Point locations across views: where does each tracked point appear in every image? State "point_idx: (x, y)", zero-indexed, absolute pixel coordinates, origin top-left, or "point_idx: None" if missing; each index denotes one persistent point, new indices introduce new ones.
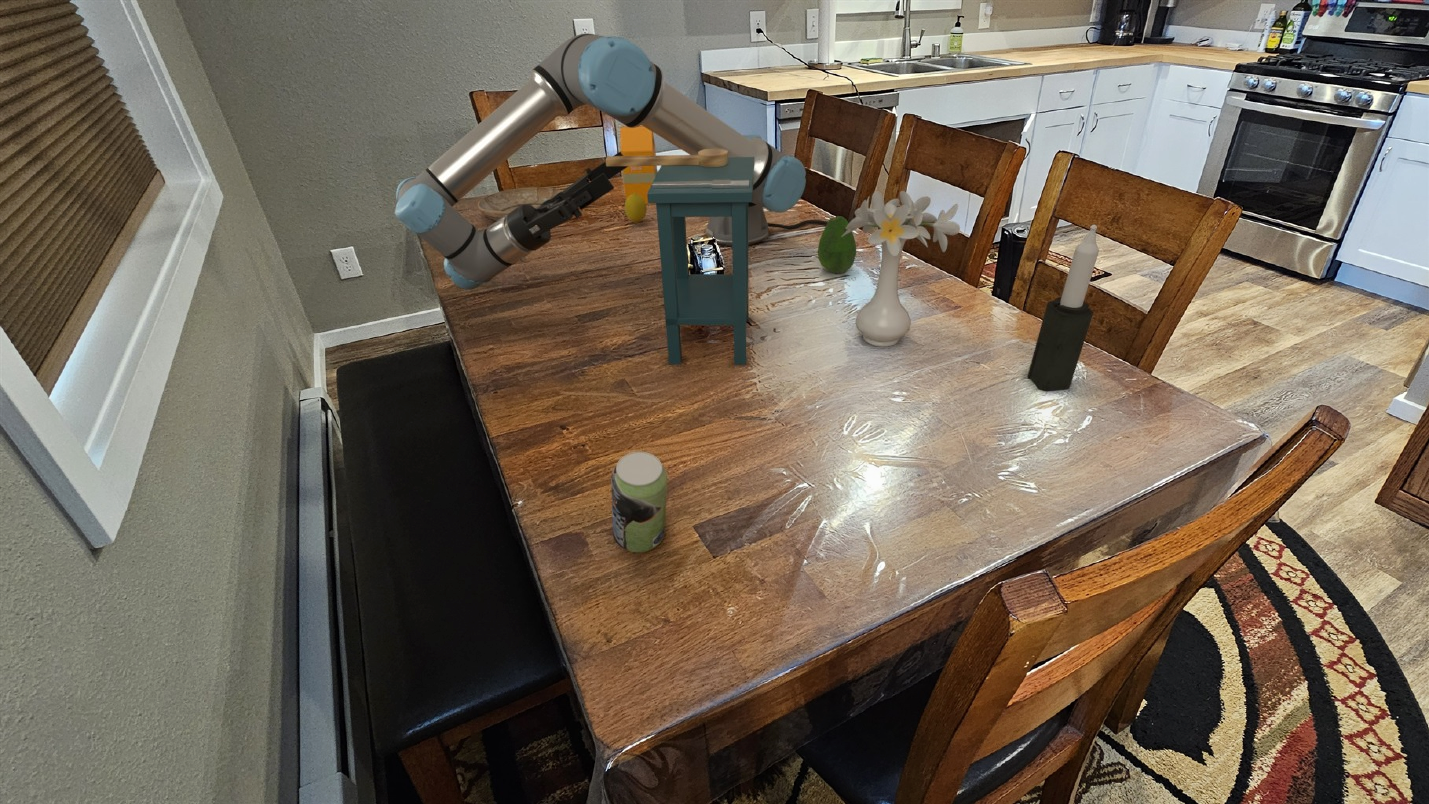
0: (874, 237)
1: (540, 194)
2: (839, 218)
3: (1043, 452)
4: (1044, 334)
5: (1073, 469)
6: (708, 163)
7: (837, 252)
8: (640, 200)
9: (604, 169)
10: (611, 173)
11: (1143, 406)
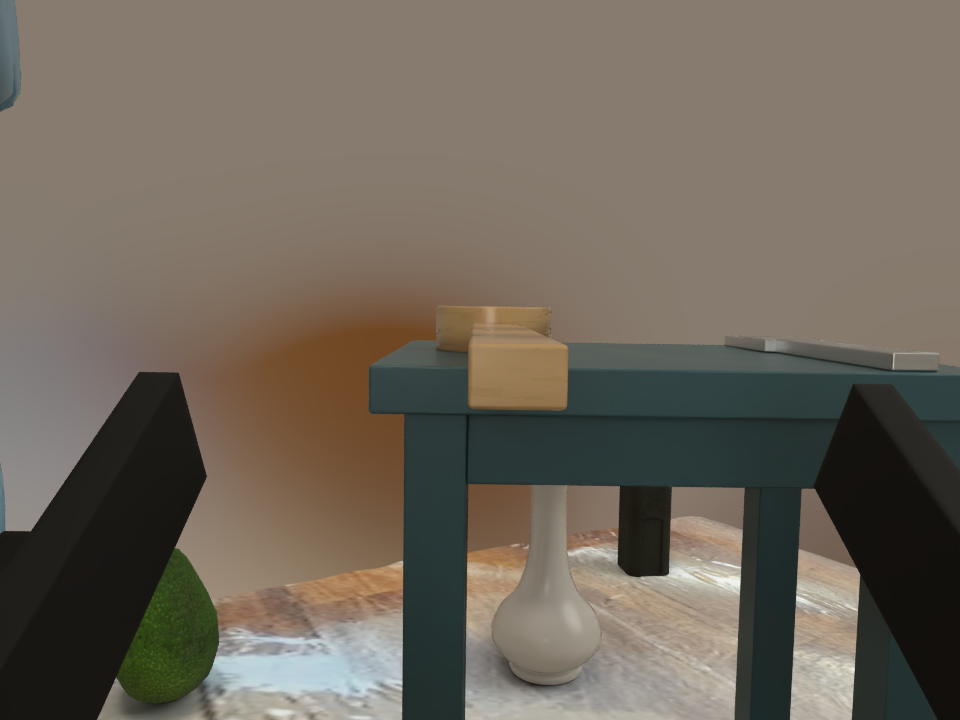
0: None
1: None
2: None
3: (820, 593)
4: (650, 505)
5: (839, 584)
6: (550, 336)
7: (215, 626)
8: None
9: (103, 574)
10: (139, 588)
11: (671, 538)
